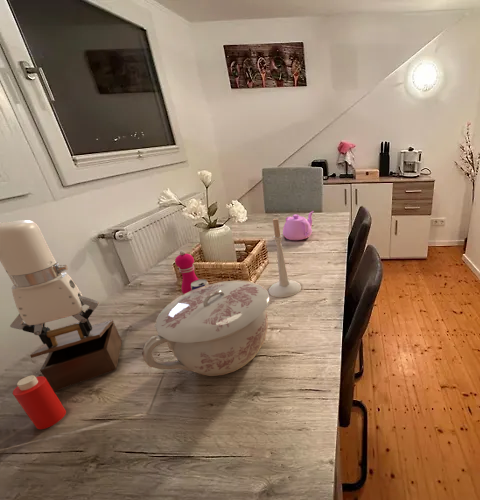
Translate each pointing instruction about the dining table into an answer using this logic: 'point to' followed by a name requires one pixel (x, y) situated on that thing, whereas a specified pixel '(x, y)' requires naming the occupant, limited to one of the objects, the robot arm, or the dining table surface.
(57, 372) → the chest
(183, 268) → the pepper mill
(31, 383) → the ketchup bottle
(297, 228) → the teapot
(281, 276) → the candlestick
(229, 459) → the dining table surface
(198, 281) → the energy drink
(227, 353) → the chamber pot
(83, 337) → the lid
